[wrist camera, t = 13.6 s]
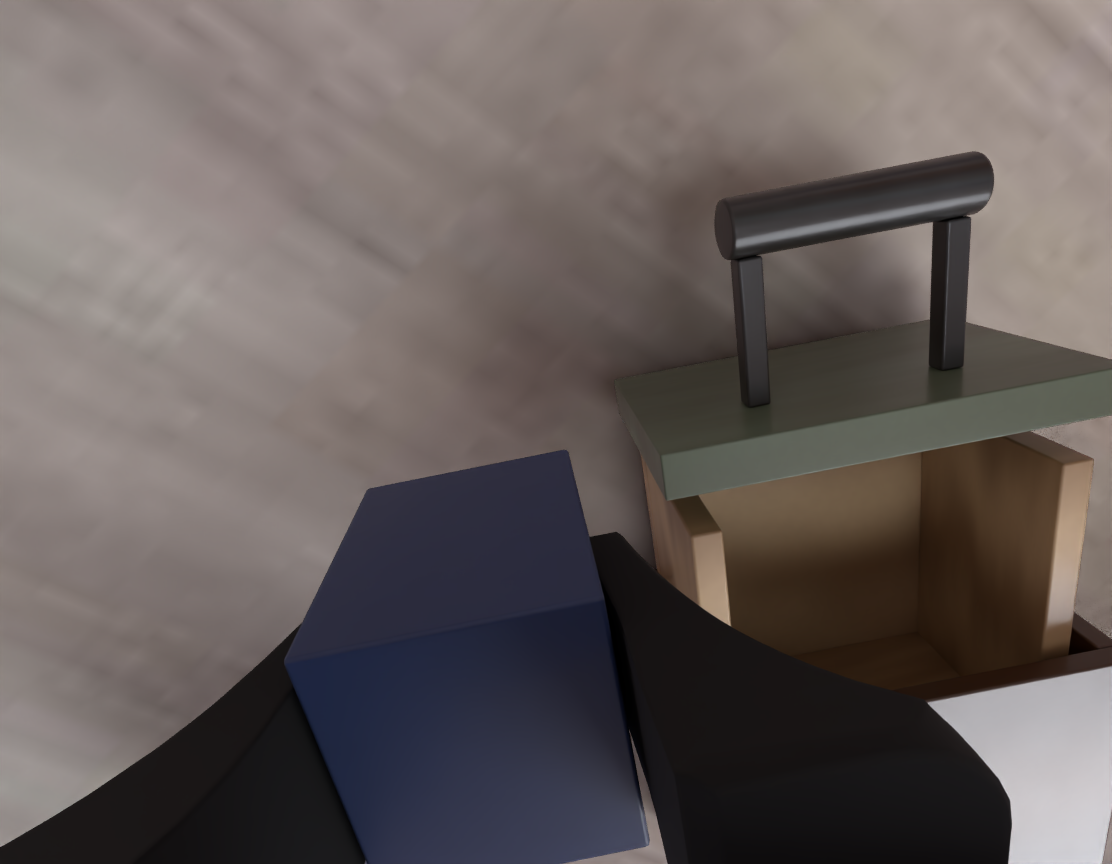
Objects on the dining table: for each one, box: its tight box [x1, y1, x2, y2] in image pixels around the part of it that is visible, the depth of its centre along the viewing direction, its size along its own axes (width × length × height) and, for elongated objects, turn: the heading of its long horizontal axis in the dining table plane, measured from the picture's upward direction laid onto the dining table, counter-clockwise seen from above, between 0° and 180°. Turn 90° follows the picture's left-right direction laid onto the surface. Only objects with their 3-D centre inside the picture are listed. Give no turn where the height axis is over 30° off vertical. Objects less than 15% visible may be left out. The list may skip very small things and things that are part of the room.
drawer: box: [614, 151, 1112, 690], centre depth 19 cm, size 17×11×7 cm, turn 10°
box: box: [284, 450, 650, 864], centre depth 11 cm, size 4×4×5 cm
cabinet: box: [655, 569, 1112, 864], centre depth 22 cm, size 13×12×8 cm
